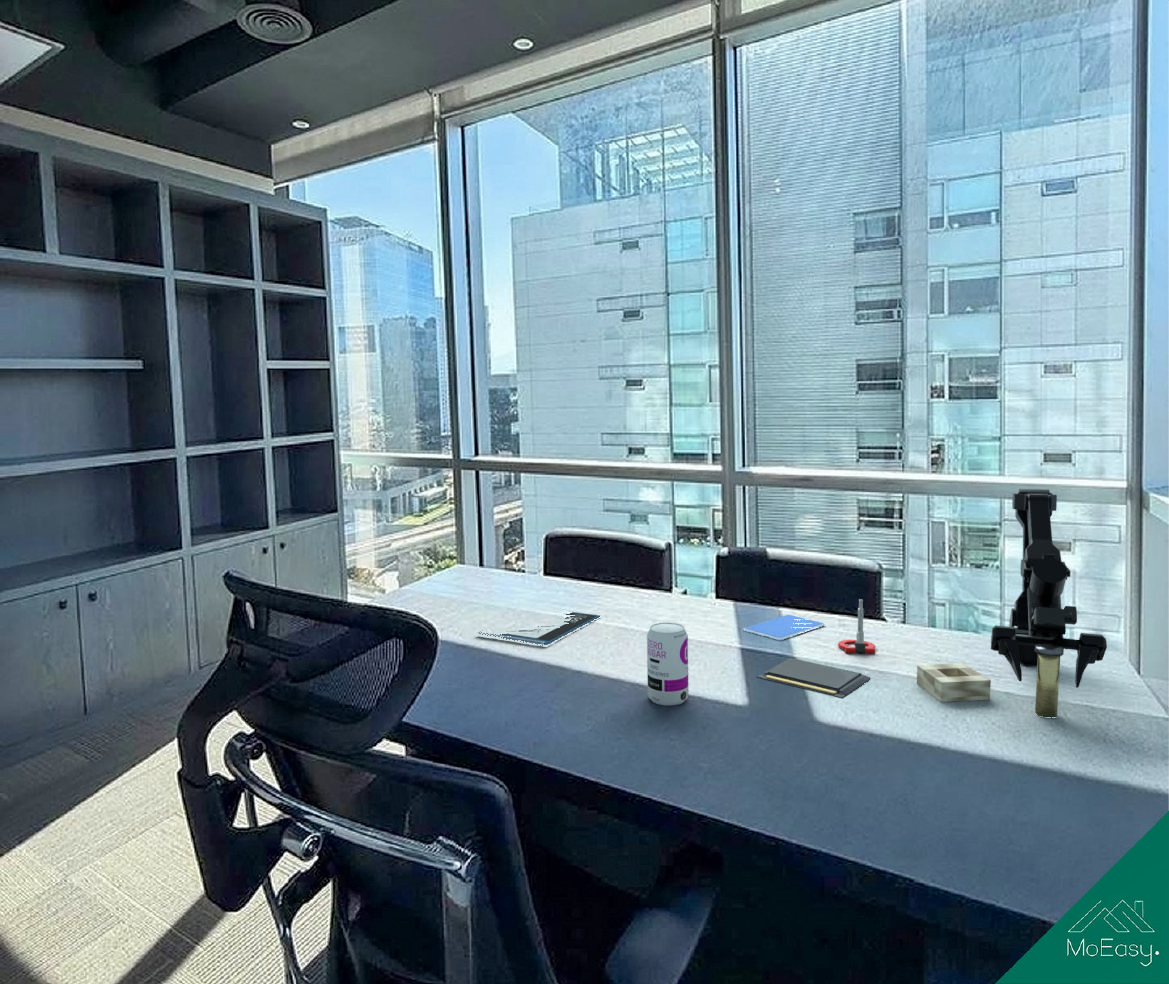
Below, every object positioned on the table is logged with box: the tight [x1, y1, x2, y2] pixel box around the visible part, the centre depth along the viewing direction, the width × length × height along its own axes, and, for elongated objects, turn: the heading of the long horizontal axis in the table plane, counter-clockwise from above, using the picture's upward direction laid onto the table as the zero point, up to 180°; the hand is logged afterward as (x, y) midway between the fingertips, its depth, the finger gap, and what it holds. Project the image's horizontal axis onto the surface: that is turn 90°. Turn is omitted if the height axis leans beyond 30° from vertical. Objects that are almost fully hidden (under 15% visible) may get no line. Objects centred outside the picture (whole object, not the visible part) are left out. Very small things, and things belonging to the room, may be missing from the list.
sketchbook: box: [477, 611, 602, 646], centre depth 212 cm, size 22×30×2 cm
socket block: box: [916, 662, 992, 703], centre depth 160 cm, size 10×10×4 cm
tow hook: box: [837, 598, 876, 655], centre depth 188 cm, size 8×13×9 cm
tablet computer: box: [742, 614, 826, 641], centre depth 206 cm, size 19×13×1 cm, turn 128°
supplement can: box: [646, 622, 689, 707], centre depth 159 cm, size 8×8×15 cm
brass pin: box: [1034, 644, 1065, 718], centre depth 147 cm, size 5×5×13 cm
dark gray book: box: [756, 657, 871, 699], centre depth 170 cm, size 20×2×15 cm
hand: (1048, 683), depth 146 cm, fingers open, 9 cm apart
